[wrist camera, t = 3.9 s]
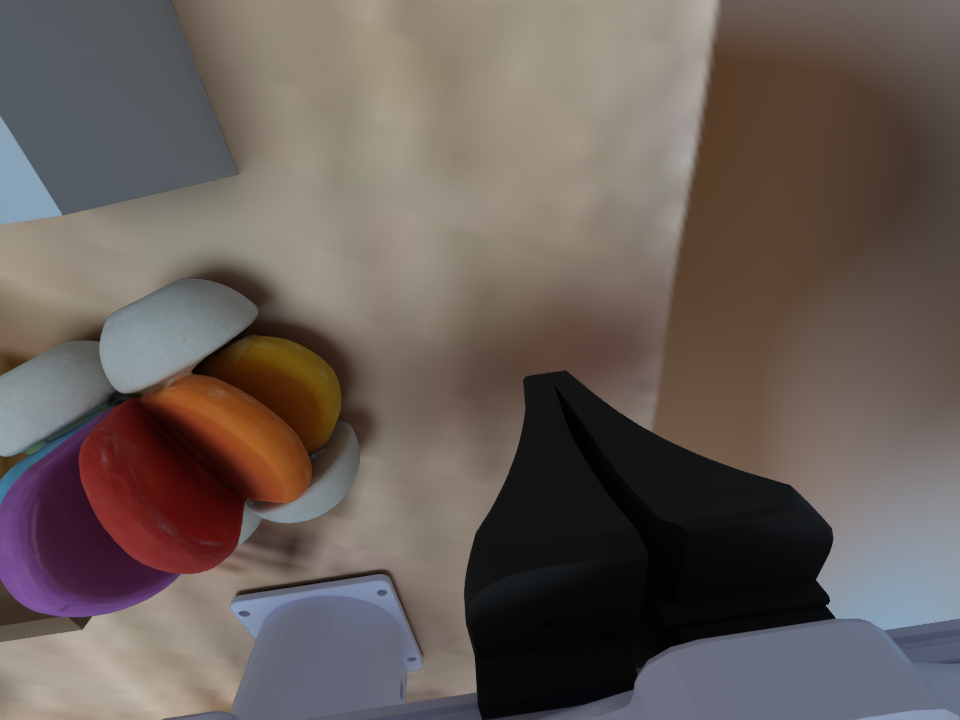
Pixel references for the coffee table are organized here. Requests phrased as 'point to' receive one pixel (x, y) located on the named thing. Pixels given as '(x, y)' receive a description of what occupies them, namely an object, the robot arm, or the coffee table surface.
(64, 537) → the rainbow petal rattle
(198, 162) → the block
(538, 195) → the coffee table surface
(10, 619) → the frame
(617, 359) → the coffee table surface
